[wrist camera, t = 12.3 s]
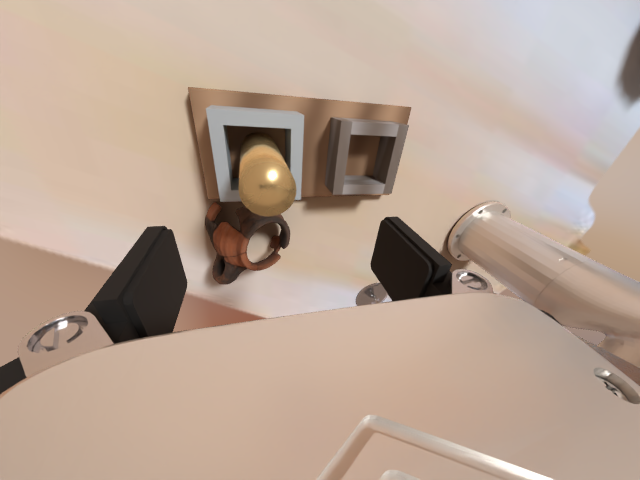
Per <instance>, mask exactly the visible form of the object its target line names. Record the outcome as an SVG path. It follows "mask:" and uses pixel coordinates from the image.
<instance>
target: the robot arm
mask: <svg viewBox="0 0 640 480" xmlns="http://www.w3.org/2000/svg"><path fill="white" fill-rule="evenodd" d="M510 218H511V214H510V210H509V208H508V207H507V206H506V205H504V204H502V203H500V202H495V201H494V202H486V203H483V204H481V205H478V206H476V207H475V208H473V209H471V210H470V211H469V212H467V213H466V214H465V215H464V216H463V217H462V218H461V219H460V220H459V221H458V222H457V224H456V225H455V226H454V228H453V229H452V231H451V234H450V236H449V239H448V251H449V253H450V254H451V255H452V256H453V257H454V258H455V259H457V260H461V261H467V260H472V261H473V262H474V263H476V264H477V265H478V266H479V267H481V268H482V269H483V270H485V271H486V272H487V273H488V274H490V275H491V276H492V277H494V278H495V279H496V280H497V281H499V282H500V283H501V284H503V285H504V286H505V287H506V288H508V289H509V290H511V291H512V292H513V293H514V294H515V295H517V296H518V297H519V298H521V299H522V300H523V301H522V300H518V299H515V298H512V297H508V296H504V295H498V294H495V293H493V288H492V285H491V283H490V282H489V281H488V280H487V279H486V278H484V277H483V276H481V275H480V274H478V273H476V272H473V271H470V270H466V269H457V270H455V271H453V273H451V272H450V271H449V270H450V268H451V265H452V264H451V263H450V262H449V261H447V260H446V259H445V258H444V257H443V256H442V255H441V254H439V253H438V252H437V251H436V250H435V249H434V248H433V247H431V246H430V245H429V244H428V243H427V242H426V241H425V240H423V239H422V238H421V237H420V236H419V235H418V234H417V233H416V232H414V231H413V230H412V229H411V228H410V227H409V226H408V225H406V224H405V223H404V222H403V221H402V220H401V219H400V218H398V217H386V218H385V219H384V220H382V221H381V223H380V227H379V231H378V235H377V239H376V244H375V248H374V252H373V256H372V260H371V269H372V271H373V272H374V274H375V275H376V277H377V278H378V280H379V281H380V283H381V284H382V286H383V287H384V289H385V290H386V292H387V293H388V295H389V296H390V298H391V299H392V301H391V302H384V303H377V304H369V305H362V306H355V307H347V308H340V309H333V310H326V311H319V312H311V313H304V314H297V315H290V316H283V317H276V318H269V319H262V320H255V321H248V322H241V323H235V324H227V325H221V326H213V327H206V328H199V329H192V330H186V331H179V332H173V329H174V326H175V323H176V320H177V317H178V314H179V311H180V307H181V304H182V301H183V298H184V295H185V292H186V289H187V279H186V276H185V272H184V269H183V265H182V262H181V258H180V255H179V251H178V248H177V244H176V241H175V237H174V234H173V231H172V230H171V229H167V228H166V227H165V226H154V227H147V228H146V230H145V231H144V232H143V234H142V235H141V236H140V238H139V239H138V240H137V242H136V243H135V244H134V246H133V247H132V248H131V250H130V251H129V252H128V254H127V255H126V256H125V258H124V259H123V260H122V262H121V263H120V264H119V265H118V267H117V268H116V269H115V271H114V272H113V273H112V275H111V276H110V277H109V279H108V280H107V281H106V283H105V284H104V285H103V287H102V288H101V289H100V291H99V292H98V293H97V295H96V296H95V297H94V299H93V300H92V301H91V303H90V304H89V305H88V307H87V308H86V309H85V311H74V312H69V313H65V314H62V315H59V316H56V317H54V318H51V319H49V320H47V321H45V322H44V323H41V324H40V325H38V326H37V327H36V328H34V329H33V330H31V331H30V332H29V333H28V334H27V335H26V336H25V337H24V338H23V339H22V340H21V342H20V344H19V345H18V355H19V358H17V359H15V360H13V361H11V362H9V363H7V364H5V365H4V366H2V367H0V480H640V282H638V281H636V280H634V279H632V278H629V277H627V276H625V275H623V274H621V273H619V272H617V271H615V270H613V269H610V268H609V267H606V266H604V265H603V264H600V263H599V262H597V261H594V260H592V259H590V258H588V257H586V256H584V255H582V254H580V253H578V252H576V251H574V250H572V249H570V248H568V247H566V246H564V245H562V244H560V243H558V242H556V241H554V240H552V239H550V238H548V237H546V236H544V235H542V234H540V233H538V232H536V231H534V230H532V229H530V228H528V227H526V226H524V225H522V224H520V223H518V222H516V221H514V220H512V219H510ZM524 301H525V302H524ZM562 325H563V326H566V327H571V328H578V329H586V330H593V331H599V332H602V333H604V334H605V335H606V338H605V339H604V340H603V341H602V342H601V343H599V344H598V346H597V345H594V344H593V343H591V342H589V341H587V340H585V339H583V338H581V337H579V336H577V335H575V334H573V333H571V332H570V331H568V330H567V329H566V328H564V327H563V326H562ZM172 332H173V333H172Z"/></svg>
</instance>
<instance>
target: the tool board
mask: <svg viewBox="0 0 640 480" xmlns="http://www.w3.org/2000/svg"><path fill="white" fill-rule="evenodd" d="M188 91H189V96H190V102H191V107H192V113H193V118H194V124H195V129H196V135H197V140H198V146H199V151H200V157H201V162H202V168H203V173H204V179H205V184H206V190H207V195H208V199H220V197H219V191H218V184H217V178H216V171H215V165H214V158H213V152H212V145H211V139H210V132H209V126H208V119H207V113H206V108H207V107H209V106H211V105H216V106H230V107H244V108H257V109H271V110H284V111H297V112H299V113H301V114H303V115H304V134H303V158H302V182H301V197H314V196H357V195H389V194H391V193H392V189H393V185H394V182H395V178H396V174H397V170H398V166H399V162H400V158H401V154H402V150H403V146H404V143H405V139H406V135H407V131H408V127H409V125H407V123H408V119H409V115H410V111H411V107H404V106H393V105H382V104H371V103H360V102H349V101H338V100H326V99H315V98H304V97H293V96H282V95H271V94H260V93H249V92H238V91H226V90H215V89H204V88H193V87H188ZM227 132H228V141H229V149H230V158H231V166H232V175H233V178H239V171H240V152H241V144H242V141H243V140H244V138H245V137H246V136H247V135H249V134H251V133H254V132H262V133H265V134H267V135H269V136H270V137H271V138H272V139H273V140H274V142H275V143H276V145H277V147H278V149H279V151H280V153H281V155H282V157H283V159H284V160H285V128H269V127H250V126H231V125H227Z"/></svg>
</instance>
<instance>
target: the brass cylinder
mask: <svg viewBox="0 0 640 480" xmlns="http://www.w3.org/2000/svg"><path fill="white" fill-rule="evenodd" d="M296 191H297V190H296V183H295V180H294V178H293V176H292V174H291V172H290V170H289V168H288V166H287V164H286V162H285V160H284V159H283V157H282V155H281V153H280V151H279V149H278V147H277V145H276V143H275V142H274V140H273V139H272V138H271V137H270V136H269V135H267V134H265V133H262V132H254V133H251V134H249V135H247V136H246V137H245V138H244V140H243V141H242V144H241V152H240V171H239V196H240V199H241V201H242V202H243V204H244V205H245V206H246V208H248V209H249V210H250V211H251V212H253V213H255V214H258V215H261V216H275V215H279V214H281V213H283V212H284V211H286V210H287V209H288V208H289V207H290V206H291V205H292V203H293V202H294V200H295V197H296Z"/></svg>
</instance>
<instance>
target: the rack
mask: <svg viewBox="0 0 640 480" xmlns="http://www.w3.org/2000/svg"><path fill="white" fill-rule="evenodd" d="M206 113H207V119H208V126H209V132H210V139H211V145H212V152H213V158H214V165H215V171H216V178H217V184H218V191H219V197H220V202H234V201H241V199H240V196H239V178H233V175H232V166H231V158H230V149H229V141H228V132H227V125H231V126H250V127H269V128H285V162H286V164H287V166H288V168H289V170H290V172H291V174H292V176H293V178H294V180H295V183H296V190H297V191H296V197H295V200H301V182H302V158H303V134H304V115H303V114H301V113H299V112H297V111H284V110H271V109H257V108H244V107H230V106H216V105H211V106H209V107H207V108H206Z"/></svg>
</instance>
